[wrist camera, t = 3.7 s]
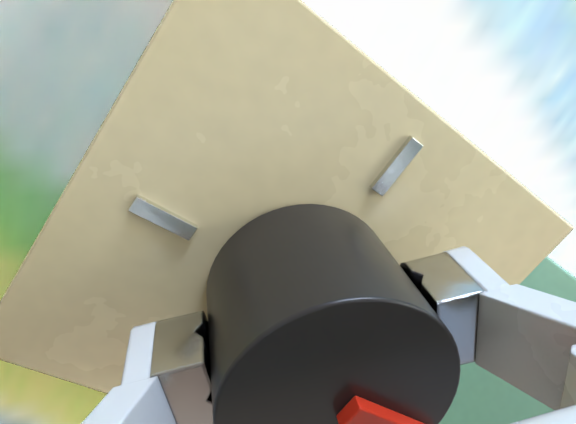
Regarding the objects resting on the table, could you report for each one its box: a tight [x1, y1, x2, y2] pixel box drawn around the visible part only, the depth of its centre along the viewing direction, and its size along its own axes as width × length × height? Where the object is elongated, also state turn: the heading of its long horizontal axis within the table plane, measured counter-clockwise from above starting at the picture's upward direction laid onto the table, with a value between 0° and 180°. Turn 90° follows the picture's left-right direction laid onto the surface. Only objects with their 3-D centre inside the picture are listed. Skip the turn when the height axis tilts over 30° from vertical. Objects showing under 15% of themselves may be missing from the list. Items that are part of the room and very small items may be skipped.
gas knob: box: [206, 204, 461, 424], centre depth 9 cm, size 4×4×4 cm
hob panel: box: [0, 0, 573, 394], centre depth 12 cm, size 11×10×3 cm
